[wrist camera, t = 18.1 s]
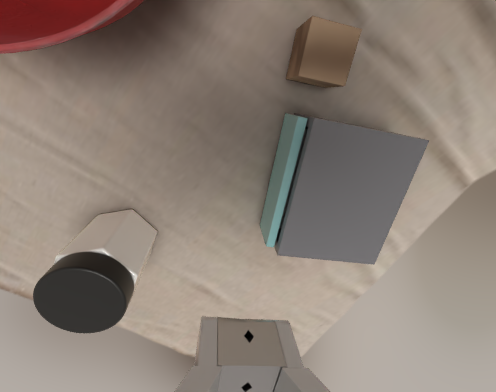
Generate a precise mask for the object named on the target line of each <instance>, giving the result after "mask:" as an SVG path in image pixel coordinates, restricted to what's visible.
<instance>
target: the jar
mask: <svg viewBox="0 0 496 392" xmlns="http://www.w3.org/2000/svg"><path fill="white" fill-rule="evenodd" d="M156 235H157V230H155V229H154V228H153V227H152V226H151V225H150V224H149V223H148V222H146V221H145V220H144V219H143V218H142V217H141V216H140V215H139V214H138V213H136V212H135V211H134V210H133V209H130V210H124V211H118V212H111V213H105V214H99V215H97V216H96V217H95V218H94V219H93V220H92V221H91V222H90V223H89V224H88V225H87V226H86V227H85V228H84V229H83V230H82V231H81V232H80V233H79V234H78V235H77V236H76V237H75V238H74V239H73V240H72V241H71V242H70V243H69V244H68V245H67V246H66V247H65V248H64V249H63V250H62V251H61V252H60V253H59V254H58V255H57V256H56V258H55V263H54V265H53V266H52V267H51V268H50V269H49V270H48V272H47V273H46V274H45V275H44V276H43V277H42V278H41V279H40V280H39V281H38V282H37V284H36V286H35V288H34V293H33V299H34V304H35V307H36V308H37V310H38V312H39V313H40V315H41V316H42V317H43V318H45V319H46V320H47V321H48V322H50V323H51V324H53V325H55V326H56V327H59V328H61V329H63V330H67V331H70V332H76V333H95V332H100V331H103V330H106V329H108V328H110V327H112V326H114V325H115V324H116V323H118V322H119V321H120V320H121V318H122V317H123V316H124V314H125V312H126V309H127V307H128V305H129V303H130V301H131V299H132V296H133V294H134V292H135V289H136V287H137V285H138V282H139V280H140V278H141V276H142V273H143V271H144V269H145V266H146V264H147V262H148V259H149V257H150V254H151V251H152V248H153V245H154V242H155V239H156Z"/></svg>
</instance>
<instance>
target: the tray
mask: <svg viewBox="0 0 496 392" xmlns="http://www.w3.org/2000/svg"><path fill="white" fill-rule="evenodd" d="M307 119H308V118H304V117H300V116H296V115H292V114H287V113H285V117H284V121H283V126H282V130H281V134H280V139H279V143H278V148H277V152H276V156H275V161H274V165H273V169H272V174H271V178H270V183H269V187H268V191H267V196H266V200H265V204H264V209H263V213H262V218H261V222H260V228H261V231H262V234H263V237H264V241H265V244H266V246H268V247H274V245H275V241H276V238H277V234H278V230H279V228H282V225H283V221H284V218H285V214H286V210H287V206H288V202H289V199H290V195H291V191H292V187H293V184H294V180H295V176H296V172H297V169H298V165H299V161H300V157H301V153H302V150H303V146H304V142H305V138H306V135H307V131H308V129H305V127H306V123H307Z"/></svg>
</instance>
